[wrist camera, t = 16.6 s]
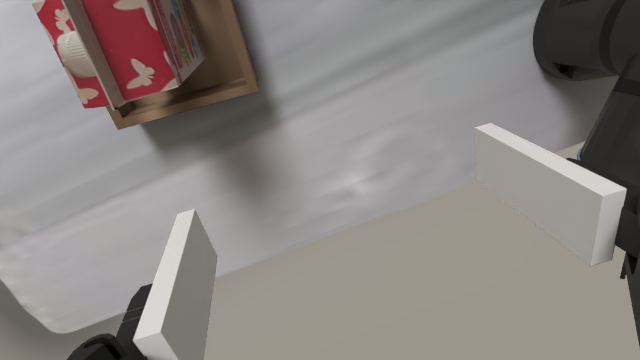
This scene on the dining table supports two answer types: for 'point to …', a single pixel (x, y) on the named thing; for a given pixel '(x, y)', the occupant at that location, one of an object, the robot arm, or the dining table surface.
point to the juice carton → (122, 46)
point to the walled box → (201, 70)
